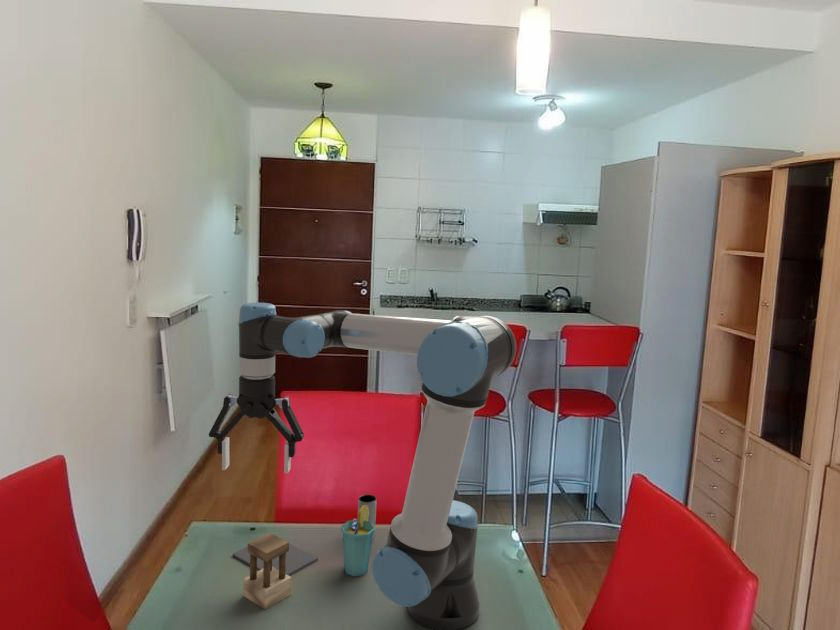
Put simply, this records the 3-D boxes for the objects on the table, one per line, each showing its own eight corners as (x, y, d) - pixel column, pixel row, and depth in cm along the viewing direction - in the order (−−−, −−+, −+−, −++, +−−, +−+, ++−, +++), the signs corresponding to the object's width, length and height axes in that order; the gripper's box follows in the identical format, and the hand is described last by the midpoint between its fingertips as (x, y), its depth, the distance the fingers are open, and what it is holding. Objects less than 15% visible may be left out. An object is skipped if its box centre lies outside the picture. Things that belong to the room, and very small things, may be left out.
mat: (317, 560, 151) (317, 557, 151) (278, 581, 142) (279, 579, 142) (272, 537, 161) (272, 534, 161) (232, 556, 151) (232, 553, 151)
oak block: (291, 594, 137) (291, 577, 137) (265, 609, 132) (265, 591, 131) (269, 582, 141) (269, 565, 141) (243, 596, 136) (243, 578, 135)
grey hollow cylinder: (367, 530, 167) (369, 492, 165) (378, 537, 163) (380, 499, 162) (353, 535, 164) (355, 497, 162) (363, 542, 161) (365, 503, 159)
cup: (367, 591, 140) (370, 527, 138) (332, 587, 141) (334, 523, 138) (376, 557, 154) (379, 498, 152) (344, 554, 154) (347, 495, 152)
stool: (288, 577, 137) (289, 542, 135) (266, 589, 132) (266, 553, 131) (269, 566, 140) (269, 532, 139) (247, 578, 135) (247, 543, 134)
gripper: (318, 373, 141) (316, 465, 145) (205, 368, 142) (206, 460, 145) (311, 382, 134) (310, 478, 137) (192, 376, 134) (193, 473, 138)
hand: (256, 469), depth 141 cm, fingers open, 13 cm apart
